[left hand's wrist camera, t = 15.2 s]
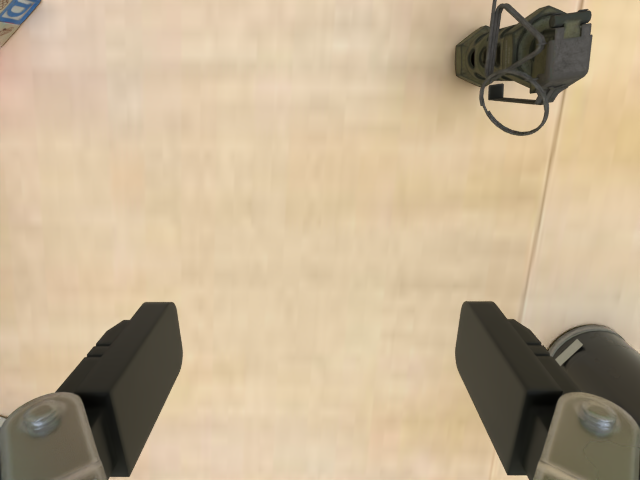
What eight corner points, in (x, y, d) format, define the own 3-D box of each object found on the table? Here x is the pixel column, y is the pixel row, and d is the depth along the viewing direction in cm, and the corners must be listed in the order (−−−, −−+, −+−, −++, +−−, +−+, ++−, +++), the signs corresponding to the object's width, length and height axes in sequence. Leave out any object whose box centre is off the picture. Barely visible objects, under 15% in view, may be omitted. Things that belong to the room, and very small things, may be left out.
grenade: (438, 22, 37) (511, -12, 23) (504, 13, 37) (618, -27, 23) (440, 123, 40) (504, 147, 26) (500, 115, 40) (598, 136, 26)
